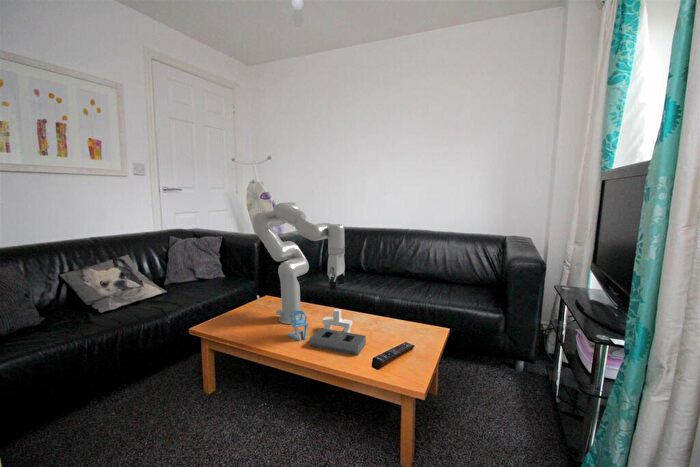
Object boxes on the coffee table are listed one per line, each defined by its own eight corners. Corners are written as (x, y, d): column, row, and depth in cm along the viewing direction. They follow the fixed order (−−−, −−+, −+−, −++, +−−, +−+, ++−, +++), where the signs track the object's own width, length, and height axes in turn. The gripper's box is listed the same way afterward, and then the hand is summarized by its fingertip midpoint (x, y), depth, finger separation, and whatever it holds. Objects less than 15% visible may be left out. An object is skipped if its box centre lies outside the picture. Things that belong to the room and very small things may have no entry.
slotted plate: (310, 346, 139) (310, 337, 138) (320, 336, 148) (320, 328, 147) (357, 355, 131) (357, 346, 130) (365, 344, 140) (365, 335, 139)
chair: (294, 342, 142) (294, 317, 140) (287, 335, 149) (287, 311, 147) (310, 338, 146) (310, 313, 144) (303, 331, 153) (302, 307, 151)
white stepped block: (322, 330, 154) (322, 309, 153) (326, 327, 158) (325, 306, 156) (349, 335, 149) (349, 313, 148) (352, 331, 153) (352, 310, 151)
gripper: (336, 247, 158) (337, 281, 160) (320, 253, 142) (321, 291, 144) (350, 248, 155) (351, 282, 157) (336, 254, 139) (337, 293, 141)
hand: (337, 286), depth 150 cm, fingers open, 9 cm apart
